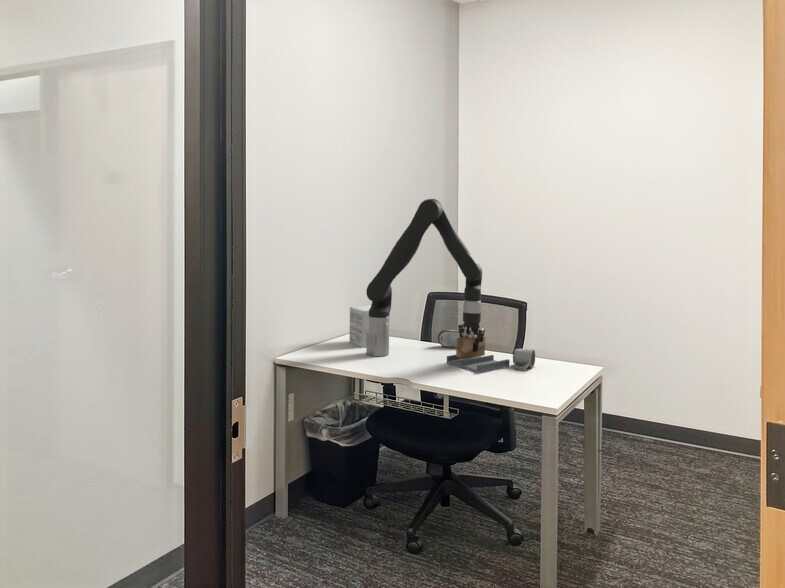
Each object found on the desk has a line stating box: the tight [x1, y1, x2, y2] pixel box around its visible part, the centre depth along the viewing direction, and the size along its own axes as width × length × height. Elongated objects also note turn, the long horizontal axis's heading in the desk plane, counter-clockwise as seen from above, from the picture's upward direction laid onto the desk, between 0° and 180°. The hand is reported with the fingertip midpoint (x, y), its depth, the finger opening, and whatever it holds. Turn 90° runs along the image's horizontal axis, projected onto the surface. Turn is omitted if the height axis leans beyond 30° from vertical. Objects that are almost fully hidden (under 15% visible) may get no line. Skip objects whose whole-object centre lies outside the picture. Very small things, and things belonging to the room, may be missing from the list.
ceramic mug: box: [512, 348, 536, 371], centre depth 255 cm, size 11×8×8 cm
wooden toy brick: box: [455, 335, 486, 359], centre depth 261 cm, size 5×12×8 cm, turn 128°
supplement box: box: [348, 304, 372, 348], centre depth 293 cm, size 13×13×18 cm
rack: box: [446, 354, 510, 374], centre depth 258 cm, size 18×19×3 cm
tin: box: [437, 328, 463, 348], centre depth 290 cm, size 15×3×8 cm, turn 84°
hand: (470, 350), depth 261 cm, fingers closed on wooden toy brick, 5 cm apart
